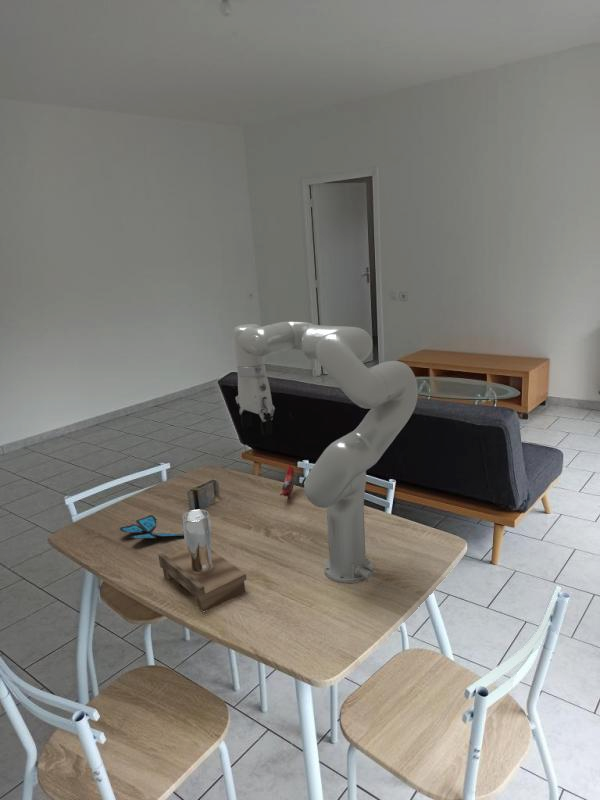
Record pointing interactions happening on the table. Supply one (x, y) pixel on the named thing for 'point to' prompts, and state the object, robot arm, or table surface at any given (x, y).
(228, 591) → the display ledge
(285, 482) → the decorative bird figurine
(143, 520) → the decorative butterfly
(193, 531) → the beer glass
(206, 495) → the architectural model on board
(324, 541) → the table surface
